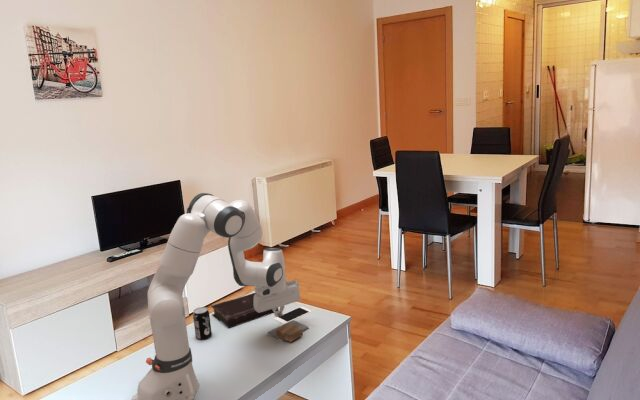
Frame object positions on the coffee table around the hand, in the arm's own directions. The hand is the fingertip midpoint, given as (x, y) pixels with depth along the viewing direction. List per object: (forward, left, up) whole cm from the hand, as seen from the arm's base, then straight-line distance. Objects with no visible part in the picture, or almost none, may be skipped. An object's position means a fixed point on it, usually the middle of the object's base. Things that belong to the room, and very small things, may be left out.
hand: (278, 315), depth 215 cm
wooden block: (-1, -13, -4) cm, 14 cm away
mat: (+1, -4, -6) cm, 7 cm away
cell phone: (+12, +6, -7) cm, 15 cm away
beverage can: (-25, +20, -6) cm, 32 cm away
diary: (-1, +25, -7) cm, 26 cm away
